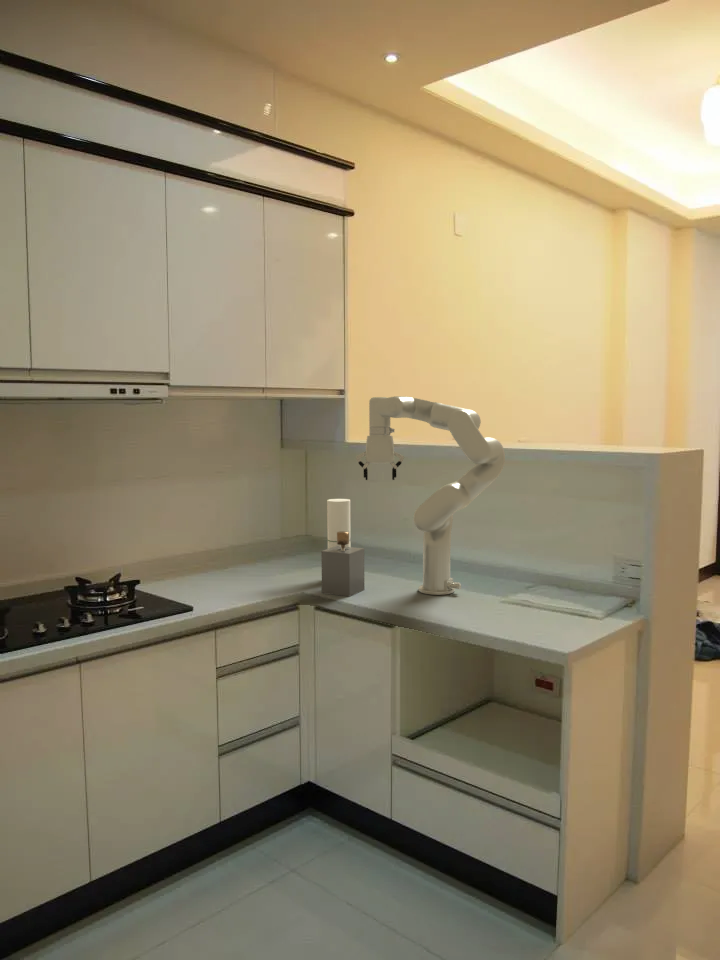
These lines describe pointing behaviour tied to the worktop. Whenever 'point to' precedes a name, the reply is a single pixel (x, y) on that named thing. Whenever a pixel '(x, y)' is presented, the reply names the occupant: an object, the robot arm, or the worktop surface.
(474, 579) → the worktop surface
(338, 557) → the grey box
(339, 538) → the plunger
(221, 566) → the worktop surface
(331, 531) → the container
